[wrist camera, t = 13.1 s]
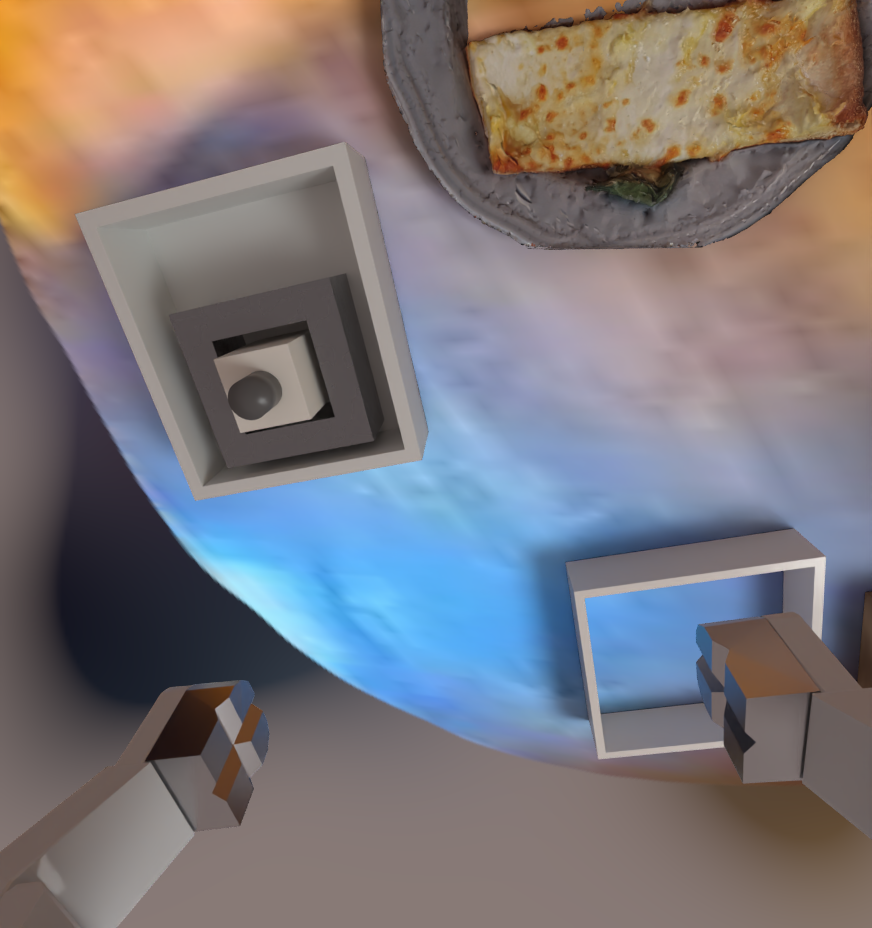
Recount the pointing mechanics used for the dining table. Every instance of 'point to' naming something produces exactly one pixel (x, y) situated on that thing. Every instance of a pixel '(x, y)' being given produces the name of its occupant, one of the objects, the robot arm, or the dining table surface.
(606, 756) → the open square frame
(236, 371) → the connector
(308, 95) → the dining table surface
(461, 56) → the food plate
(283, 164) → the walled box
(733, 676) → the robot arm
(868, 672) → the stand rim
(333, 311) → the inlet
